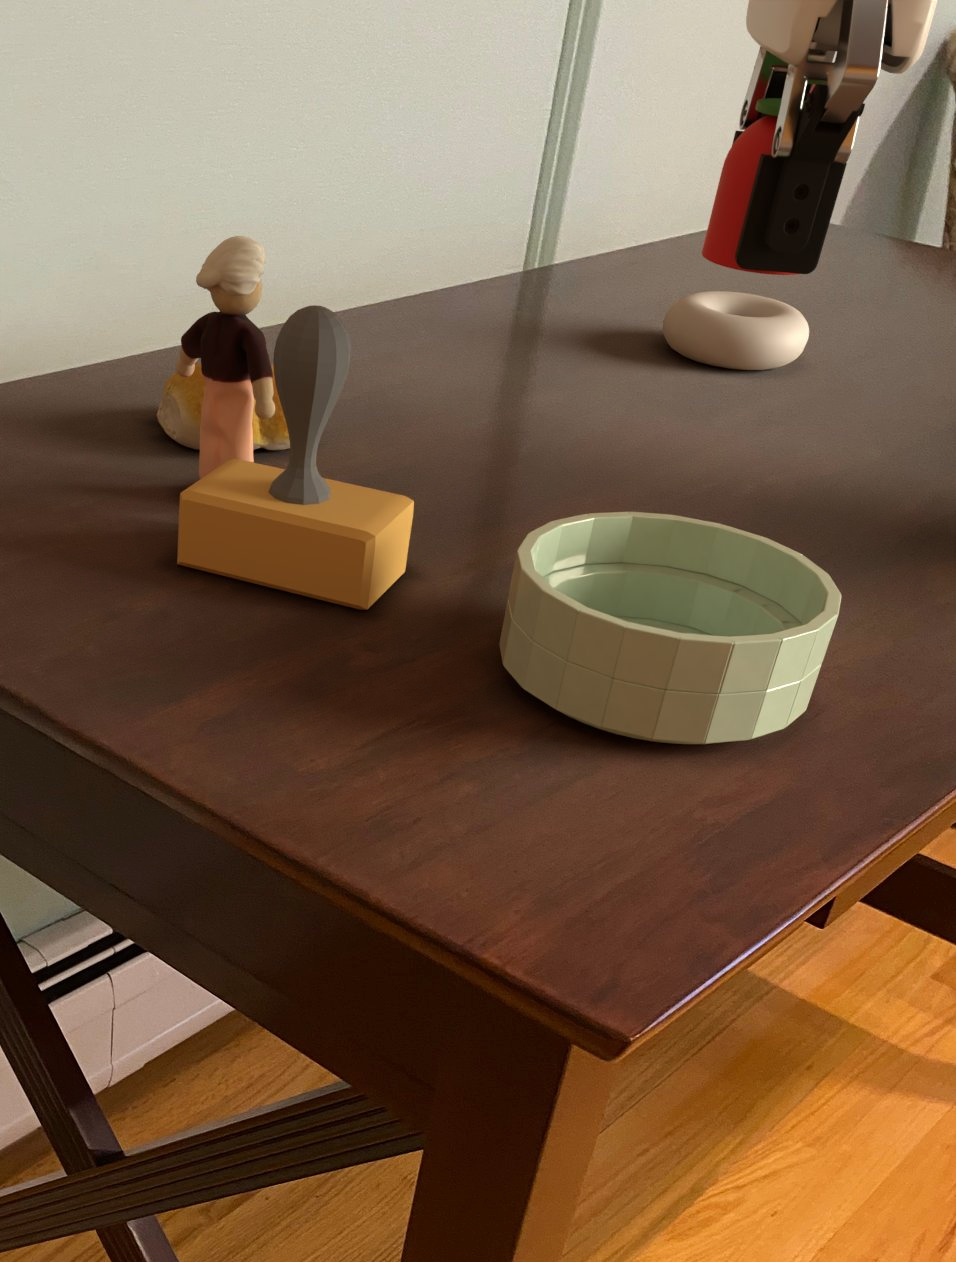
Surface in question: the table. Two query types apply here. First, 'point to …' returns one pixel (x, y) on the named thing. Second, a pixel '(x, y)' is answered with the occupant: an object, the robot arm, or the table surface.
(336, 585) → the rubber stamp
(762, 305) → the donut
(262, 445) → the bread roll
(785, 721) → the bowl
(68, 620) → the table surface
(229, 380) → the grandmother figurine
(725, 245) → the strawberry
